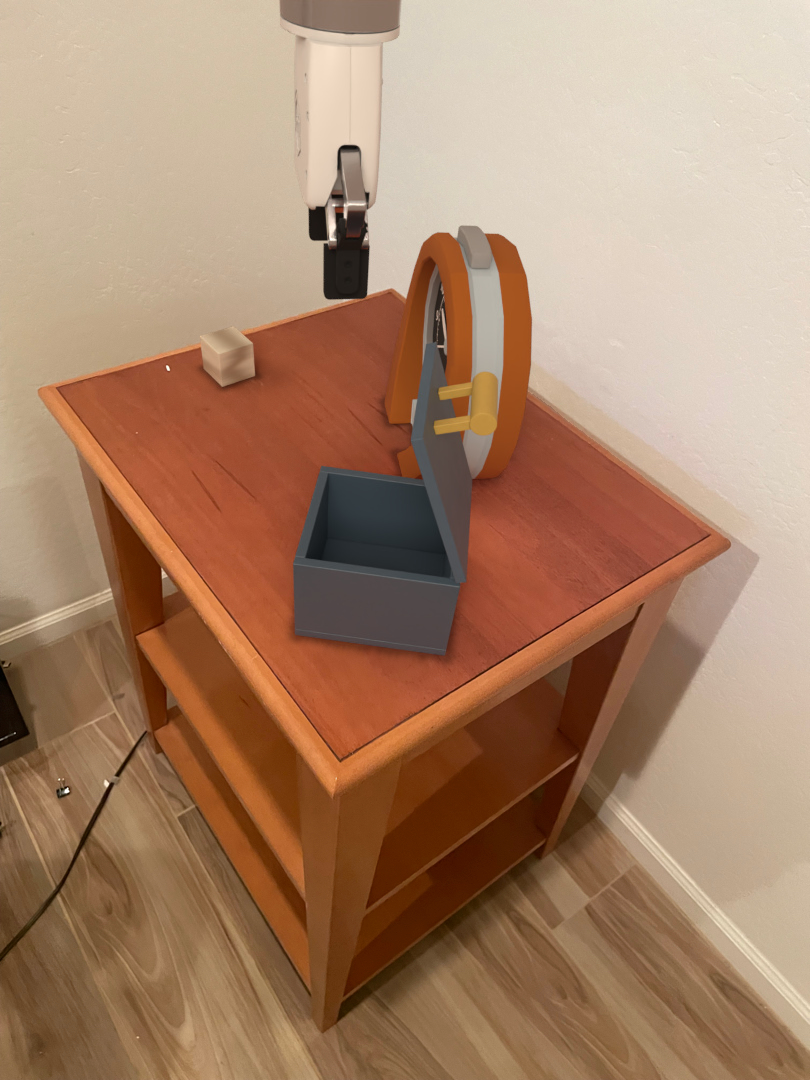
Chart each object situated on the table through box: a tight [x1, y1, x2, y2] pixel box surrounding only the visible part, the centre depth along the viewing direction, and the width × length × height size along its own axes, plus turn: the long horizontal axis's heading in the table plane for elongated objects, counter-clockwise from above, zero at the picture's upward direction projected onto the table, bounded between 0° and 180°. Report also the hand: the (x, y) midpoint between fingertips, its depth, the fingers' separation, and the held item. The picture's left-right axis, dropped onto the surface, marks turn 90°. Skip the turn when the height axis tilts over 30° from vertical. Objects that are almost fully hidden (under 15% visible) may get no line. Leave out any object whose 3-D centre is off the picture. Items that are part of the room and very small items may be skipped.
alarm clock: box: [383, 224, 533, 480], centre depth 73 cm, size 22×10×23 cm, turn 9°
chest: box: [292, 465, 462, 657], centre depth 62 cm, size 13×12×9 cm
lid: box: [410, 342, 498, 584], centre depth 53 cm, size 13×12×5 cm
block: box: [199, 326, 256, 388], centre depth 85 cm, size 4×4×4 cm
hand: (336, 266), depth 58 cm, fingers open, 9 cm apart
